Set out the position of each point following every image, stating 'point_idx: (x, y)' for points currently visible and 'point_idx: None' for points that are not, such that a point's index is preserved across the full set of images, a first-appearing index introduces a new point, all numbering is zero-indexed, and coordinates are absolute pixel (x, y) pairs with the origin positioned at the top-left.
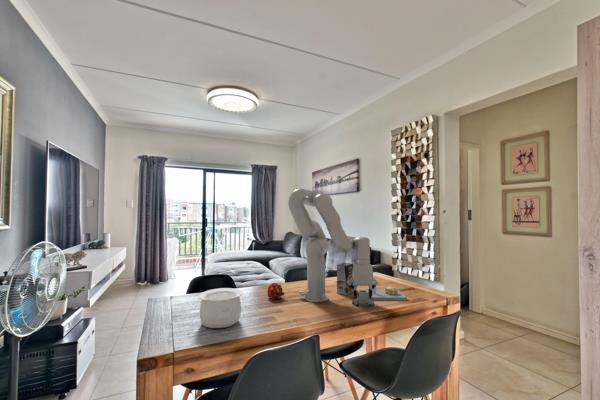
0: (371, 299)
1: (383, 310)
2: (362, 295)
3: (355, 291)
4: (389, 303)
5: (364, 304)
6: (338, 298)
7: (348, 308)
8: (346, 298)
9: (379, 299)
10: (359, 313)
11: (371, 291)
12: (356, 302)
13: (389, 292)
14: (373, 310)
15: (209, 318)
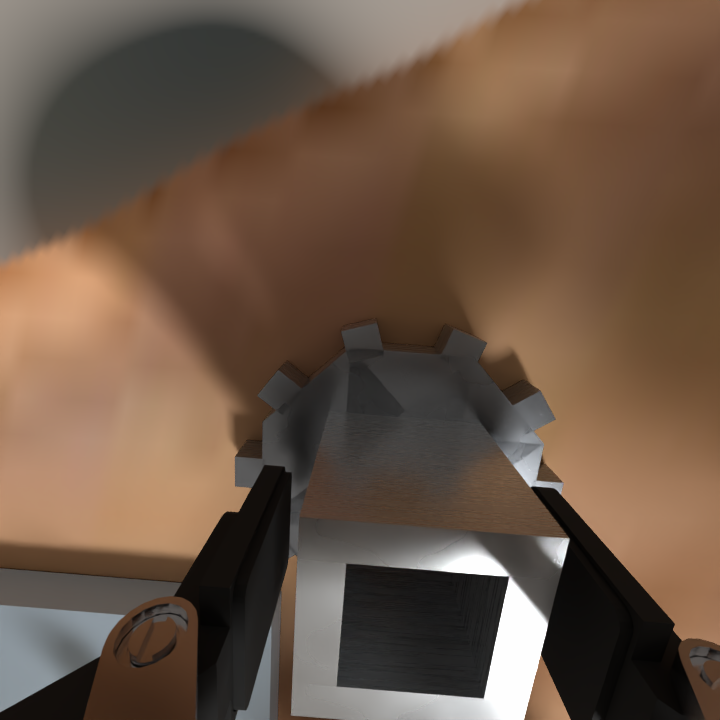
0: None
1: (169, 180)
2: (451, 488)
3: (644, 619)
4: (31, 462)
5: (415, 355)
6: None
7: (665, 305)
8: (536, 670)
9: (133, 588)
10: (587, 57)
11: (195, 593)
12: (508, 454)
13: None
14: (321, 190)
15: None
